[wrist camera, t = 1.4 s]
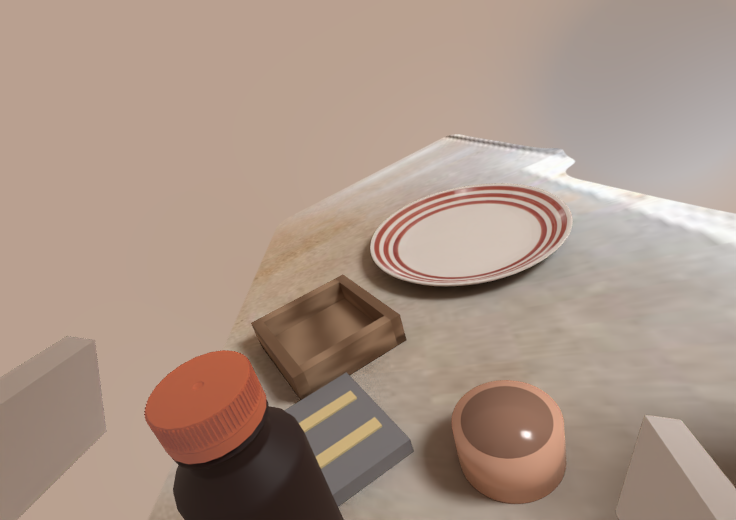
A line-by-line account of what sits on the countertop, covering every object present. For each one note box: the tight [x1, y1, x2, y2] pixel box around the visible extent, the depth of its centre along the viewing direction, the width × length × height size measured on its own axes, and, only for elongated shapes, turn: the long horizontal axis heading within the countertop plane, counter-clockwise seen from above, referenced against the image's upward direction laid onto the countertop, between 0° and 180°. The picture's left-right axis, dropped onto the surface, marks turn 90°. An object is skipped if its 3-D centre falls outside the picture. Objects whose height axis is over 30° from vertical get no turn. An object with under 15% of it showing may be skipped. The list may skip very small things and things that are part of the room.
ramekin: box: [452, 380, 566, 504], centre depth 36 cm, size 8×8×4 cm
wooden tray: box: [251, 275, 406, 400], centre depth 54 cm, size 13×13×4 cm
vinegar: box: [144, 350, 343, 520], centre depth 26 cm, size 7×7×20 cm
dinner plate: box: [370, 183, 573, 286], centre depth 66 cm, size 28×27×3 cm
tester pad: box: [284, 372, 413, 506], centre depth 41 cm, size 11×11×2 cm
